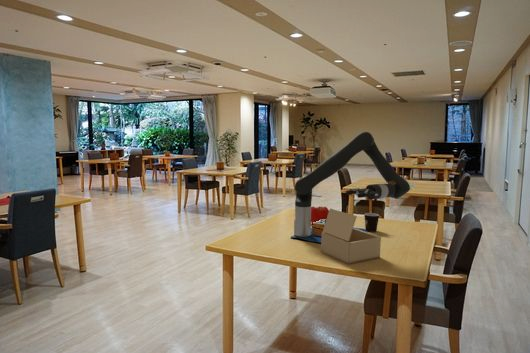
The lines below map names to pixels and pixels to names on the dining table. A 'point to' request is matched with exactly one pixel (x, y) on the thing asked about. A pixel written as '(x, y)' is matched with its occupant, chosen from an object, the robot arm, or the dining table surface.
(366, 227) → the coffee mug
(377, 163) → the robot arm
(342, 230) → the carton flap
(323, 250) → the carton
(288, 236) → the dining table surface
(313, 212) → the tomato
